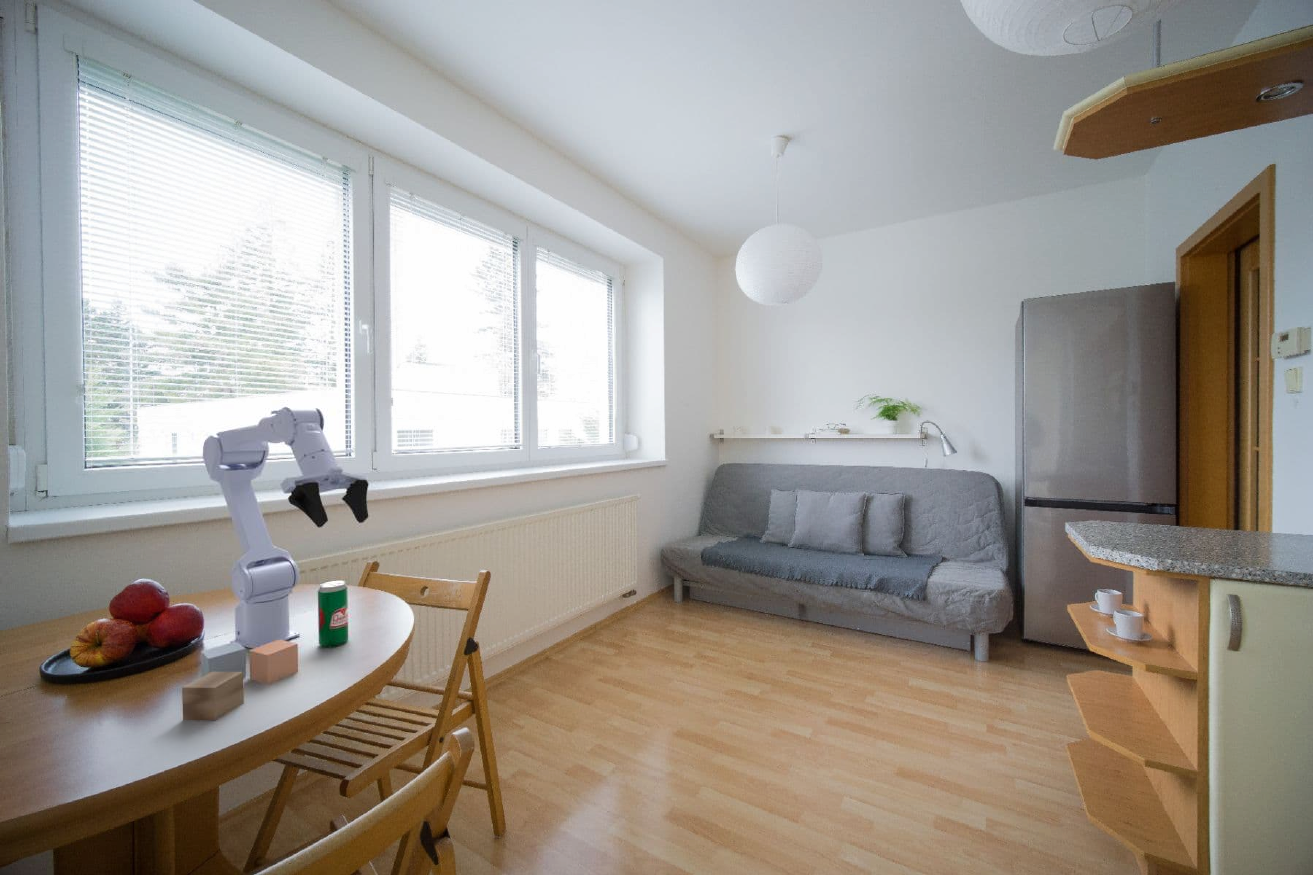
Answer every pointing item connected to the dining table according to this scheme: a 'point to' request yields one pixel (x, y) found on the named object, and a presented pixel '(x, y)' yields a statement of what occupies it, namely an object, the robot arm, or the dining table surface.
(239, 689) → the walnut block
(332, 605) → the soda can
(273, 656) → the terracotta block
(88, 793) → the dining table surface
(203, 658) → the slate blue block
